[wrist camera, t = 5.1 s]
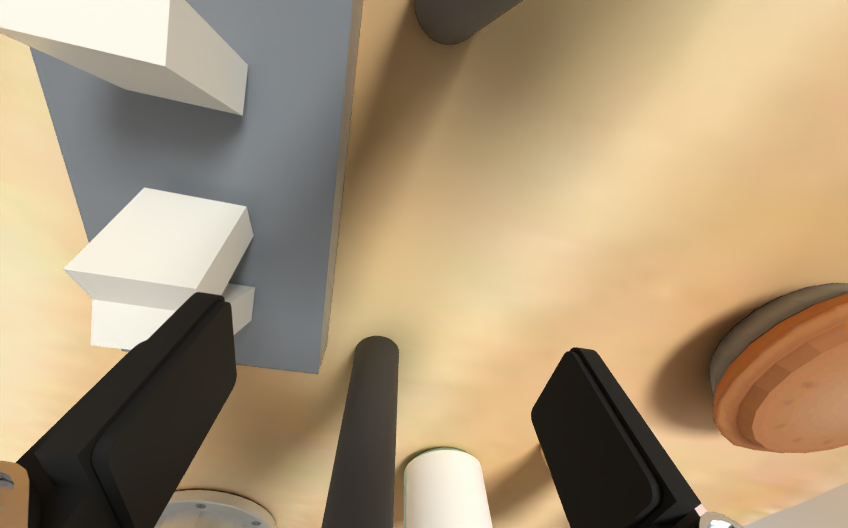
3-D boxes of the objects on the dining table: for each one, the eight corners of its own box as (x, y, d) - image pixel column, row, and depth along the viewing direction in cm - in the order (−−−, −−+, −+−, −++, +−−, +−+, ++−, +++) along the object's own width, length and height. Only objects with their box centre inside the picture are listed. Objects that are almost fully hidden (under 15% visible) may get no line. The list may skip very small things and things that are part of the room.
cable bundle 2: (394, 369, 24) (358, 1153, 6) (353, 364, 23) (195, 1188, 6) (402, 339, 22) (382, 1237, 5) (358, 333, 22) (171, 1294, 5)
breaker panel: (326, 345, 22) (318, 374, 20) (151, 322, 21) (121, 350, 19) (365, -25, 13) (357, -46, 11) (49, -119, 11) (-35, -165, 9)
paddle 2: (251, 320, 17) (205, 358, 13) (167, 308, 16) (90, 345, 12) (255, 287, 17) (210, 315, 12) (170, 274, 16) (92, 299, 12)
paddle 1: (242, 115, 12) (165, 66, 8) (125, 89, 12) (-27, 20, 7) (247, 64, 12) (171, -15, 8) (128, 35, 11) (-28, -68, 7)
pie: (810, 220, 19) (926, 261, 15) (957, 295, 23) (1086, 346, 18) (637, 388, 26) (682, 449, 22) (770, 426, 30) (832, 485, 25)
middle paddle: (253, 235, 15) (210, 316, 12) (161, 219, 15) (93, 299, 12) (246, 206, 14) (196, 288, 11) (144, 187, 13) (63, 268, 11)
